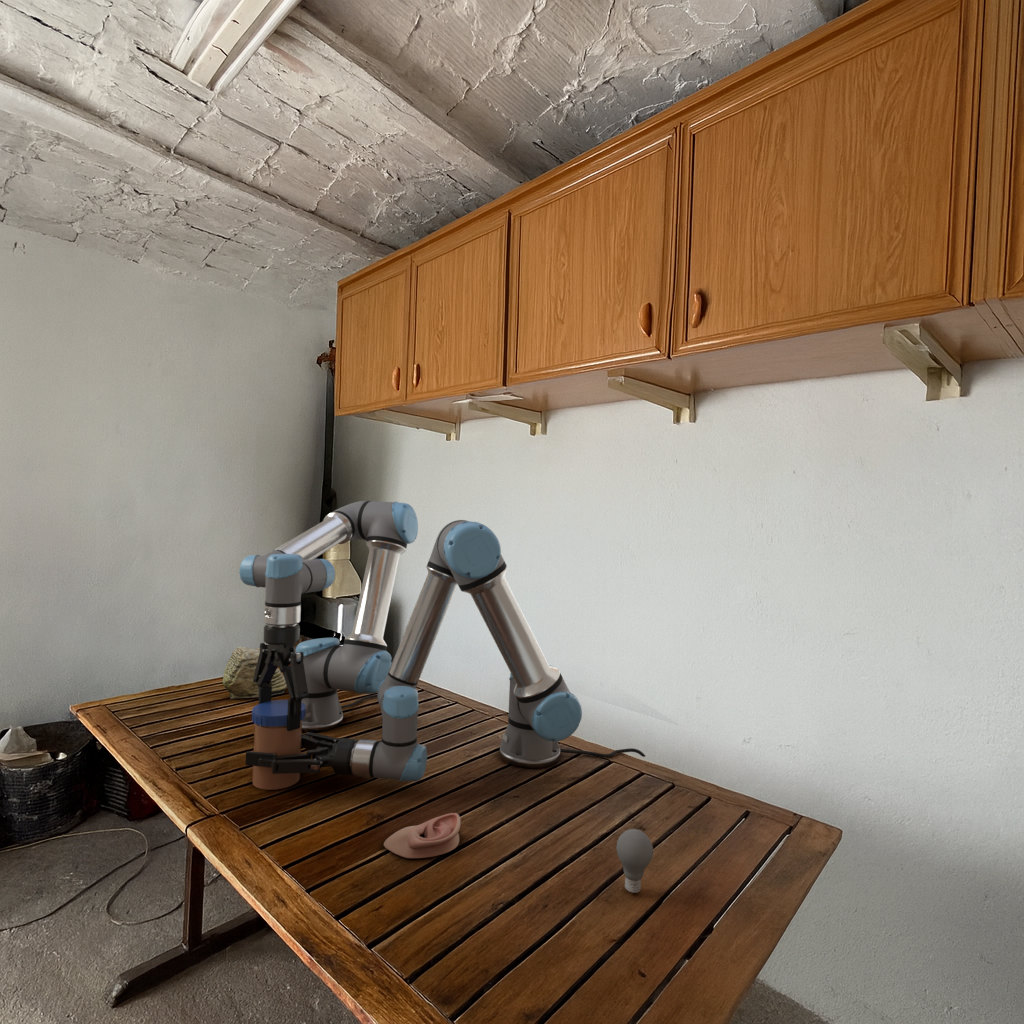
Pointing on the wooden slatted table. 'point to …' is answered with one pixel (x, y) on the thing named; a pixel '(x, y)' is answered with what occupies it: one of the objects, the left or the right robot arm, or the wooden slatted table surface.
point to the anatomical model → (426, 838)
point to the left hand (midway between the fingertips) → (278, 722)
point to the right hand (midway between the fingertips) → (259, 748)
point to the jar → (281, 744)
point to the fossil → (247, 675)
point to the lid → (273, 713)
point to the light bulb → (634, 857)
